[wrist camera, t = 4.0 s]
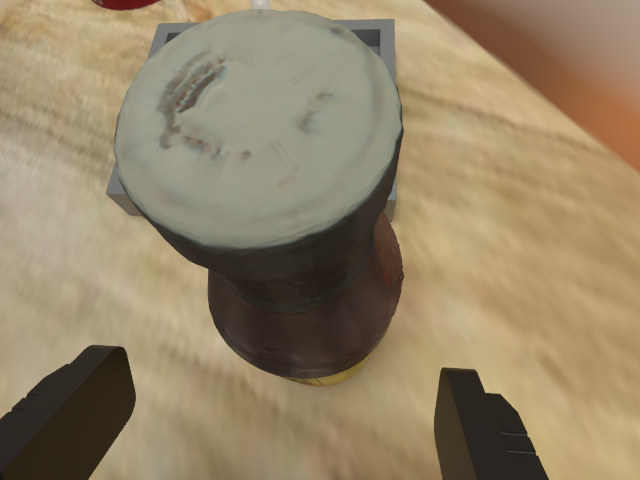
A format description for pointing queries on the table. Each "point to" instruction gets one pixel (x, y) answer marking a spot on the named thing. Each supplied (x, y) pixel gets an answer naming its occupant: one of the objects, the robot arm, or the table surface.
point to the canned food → (124, 4)
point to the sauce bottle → (274, 183)
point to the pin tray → (368, 31)
